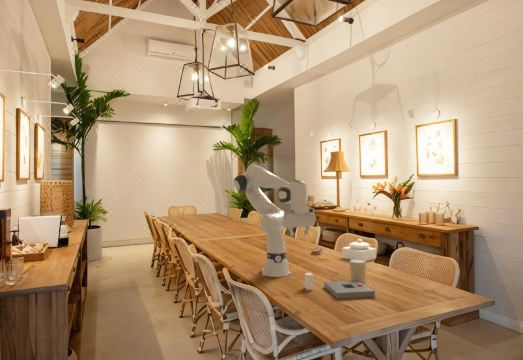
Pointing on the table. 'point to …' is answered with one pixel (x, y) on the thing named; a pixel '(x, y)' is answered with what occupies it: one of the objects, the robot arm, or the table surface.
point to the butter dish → (359, 251)
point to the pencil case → (317, 251)
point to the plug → (309, 281)
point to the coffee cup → (357, 270)
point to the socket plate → (349, 289)
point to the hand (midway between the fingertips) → (299, 235)
